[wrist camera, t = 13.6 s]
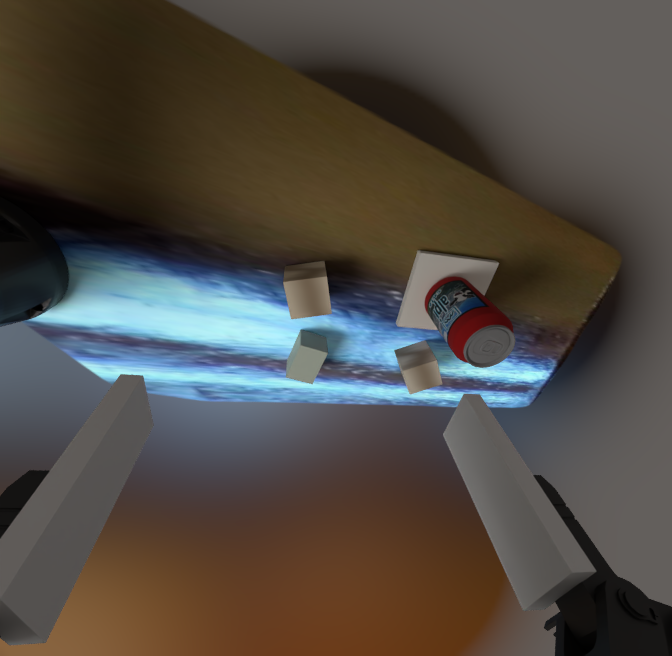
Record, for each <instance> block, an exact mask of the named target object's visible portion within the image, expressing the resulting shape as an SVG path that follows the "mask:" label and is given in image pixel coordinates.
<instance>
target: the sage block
mask: <svg viewBox="0 0 672 656" xmlns="http://www.w3.org/2000/svg"><path fill="white" fill-rule="evenodd" d="M327 354H328V348H327V339H326V337H324V336H320V335H317V334H314V333H311V332H307V331H304V330H300V332H299V334H298V337H297V339H296V341H295V344H294V346H293V348H292V350H291V353H290V355H289V357H288V360H287V370H286V377H287V378H291V379H294V380H298V381H302V382H306V383H310V384H313V382H314V380H315V378H316V376H317V374H318V372H319V370H320V368H321V366H322V364H323V362H324V360H325V358H326V356H327Z"/></svg>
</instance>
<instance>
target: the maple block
mask: <svg viewBox="0 0 672 656" xmlns="http://www.w3.org/2000/svg"><path fill="white" fill-rule="evenodd" d="M394 351H395V354H396V357H397V361H398V364H399V367H400V370H401V373H402V376H403V378H404V381H405V383H406V386H407V388H408V391H409V393H410V394H413V393H416V392H419V391H422V390H426V389H429V388H432V387H435V386H438V385H441V384H442V381H441V376H440V372H439V367H438V363H437V359H436V358H435V356H434V354H433V352H432V351H431V349H430V347H429V345H428V344H427V342H426V340H424V341H421V342H418V343H415V344H412V345H409V346H406V347H403V348H400V349H397V350H394Z"/></svg>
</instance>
